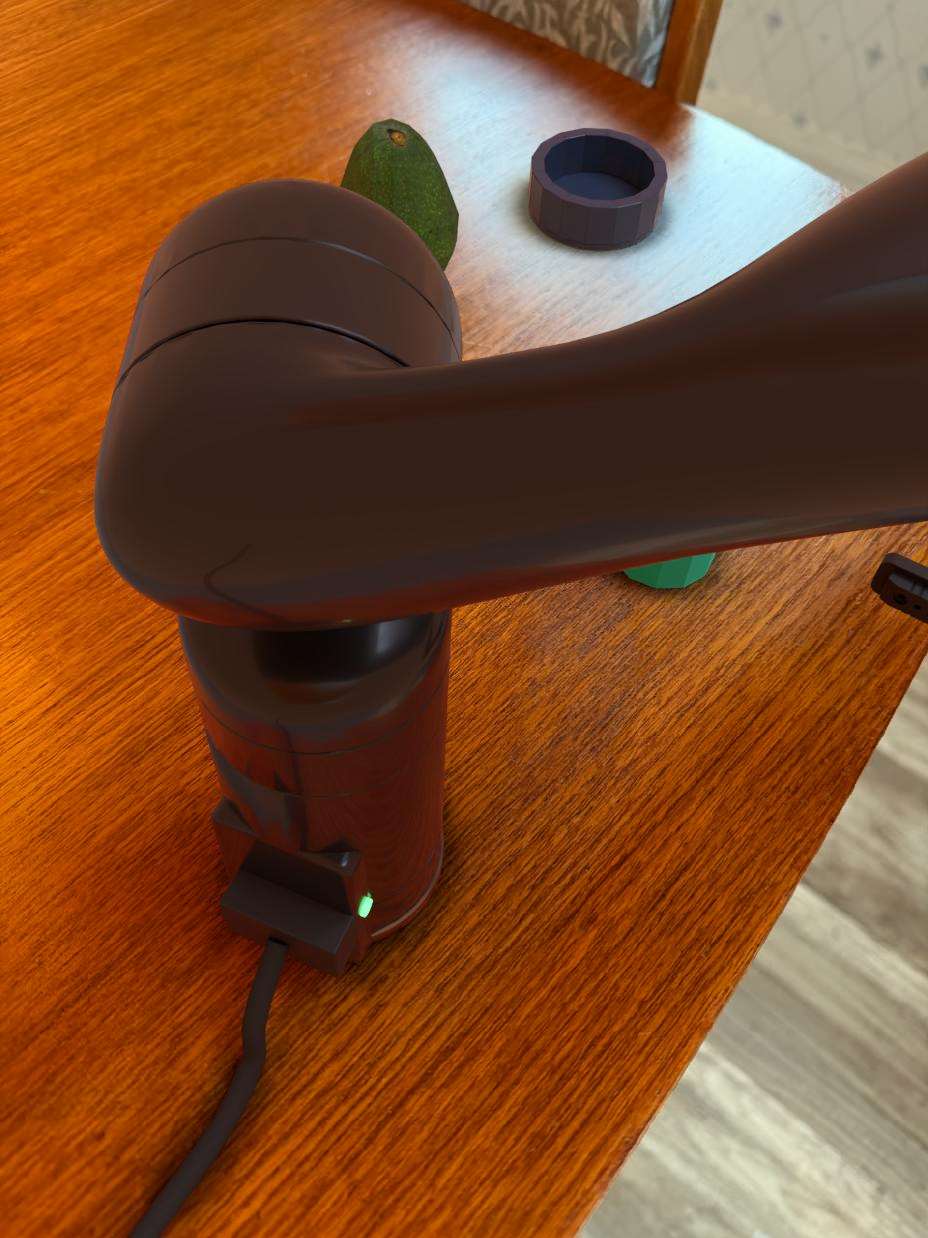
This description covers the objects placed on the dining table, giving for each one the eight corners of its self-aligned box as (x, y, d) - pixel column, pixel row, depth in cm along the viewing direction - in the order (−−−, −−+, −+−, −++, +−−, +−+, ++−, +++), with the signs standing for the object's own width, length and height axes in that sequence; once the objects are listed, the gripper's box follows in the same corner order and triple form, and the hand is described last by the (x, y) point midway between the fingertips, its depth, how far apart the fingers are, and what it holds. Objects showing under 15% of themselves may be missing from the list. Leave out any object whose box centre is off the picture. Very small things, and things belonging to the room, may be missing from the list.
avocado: (333, 326, 78) (322, 159, 68) (339, 250, 82) (330, 84, 73) (456, 329, 78) (462, 163, 68) (456, 253, 83) (461, 87, 73)
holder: (634, 265, 82) (642, 221, 80) (508, 228, 84) (511, 184, 82) (675, 191, 88) (684, 148, 85) (555, 158, 90) (559, 115, 87)
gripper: (1358, 510, 52) (991, 363, 56) (1292, 750, 44) (879, 558, 49) (1260, 614, 58) (937, 472, 63) (1188, 840, 50) (829, 660, 55)
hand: (912, 510), depth 56 cm, fingers open, 8 cm apart
